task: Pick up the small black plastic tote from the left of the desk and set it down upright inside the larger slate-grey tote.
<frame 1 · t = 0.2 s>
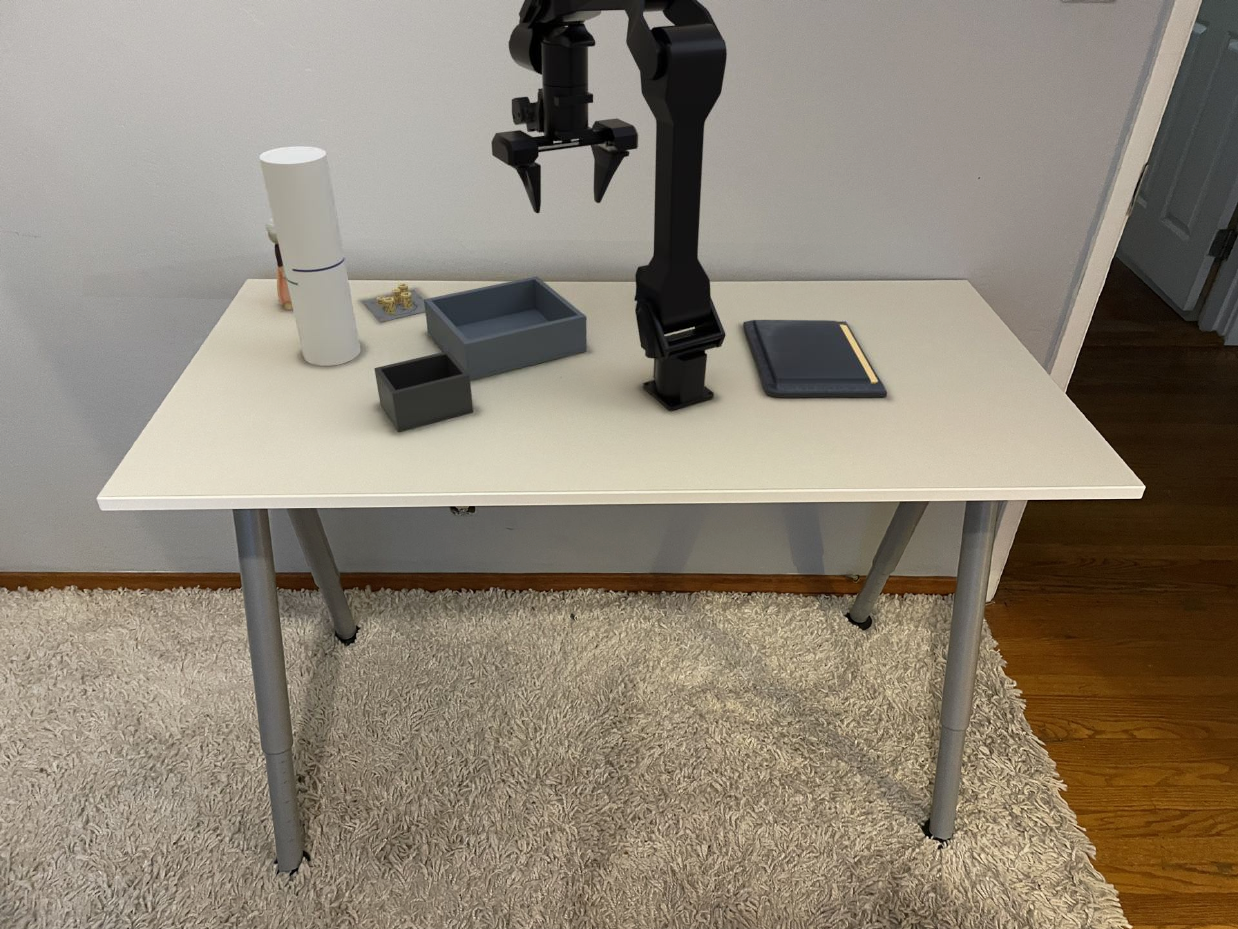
hand: (567, 207, 113), 15 cm above the table, tool pointing down, fingers open, 9 cm apart
black bin: (426, 408, 98), on the table
dice set: (397, 306, 121), on the table
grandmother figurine: (294, 306, 121), on the table
cylindrical container: (332, 353, 109), on the table
wallet: (809, 360, 110), on the table
grey bin: (506, 342, 112), on the table
hard drive: (674, 303, 124), on the table
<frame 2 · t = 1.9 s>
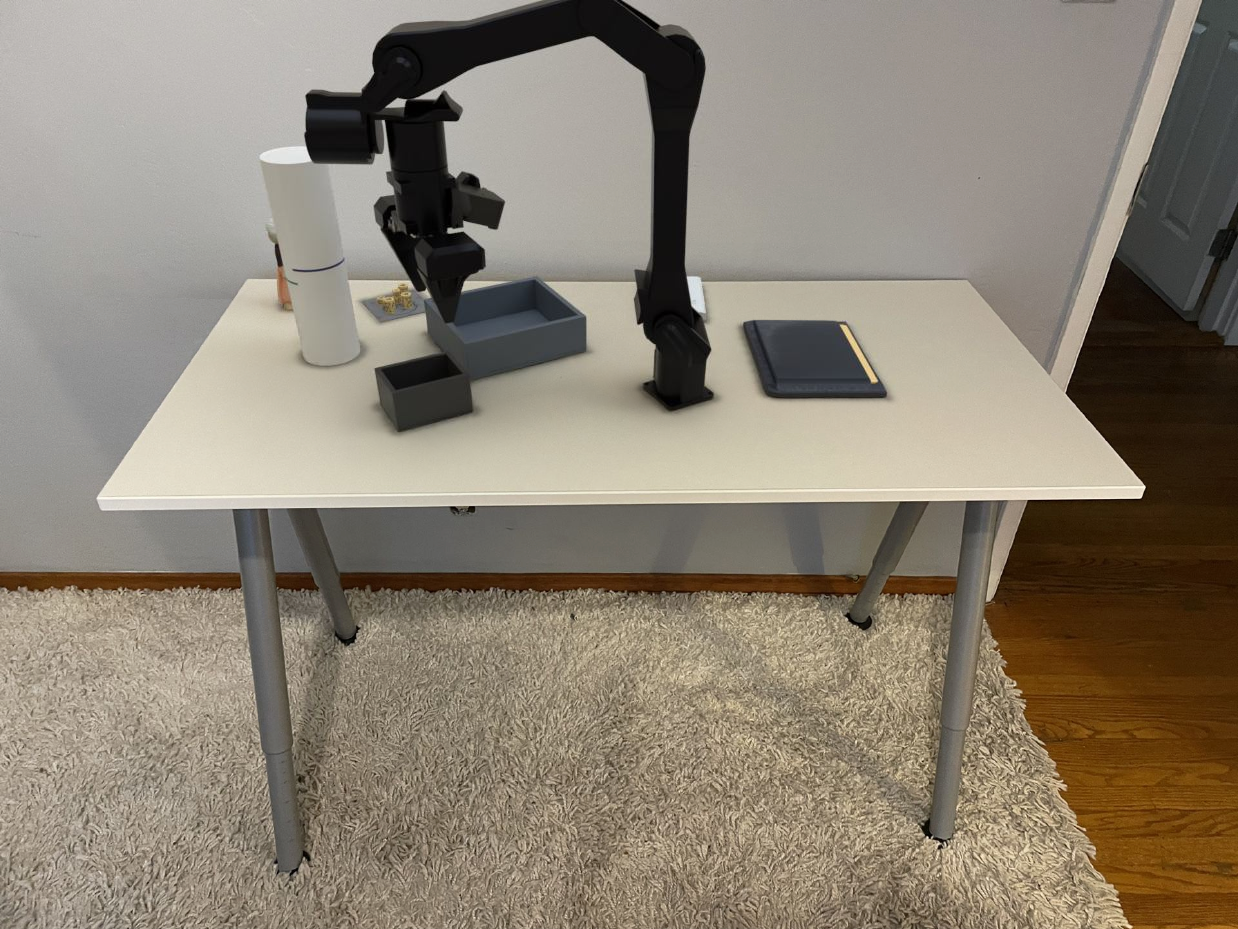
hand: (434, 306, 94), 11 cm above the table, tool pointing down, fingers open, 9 cm apart
nothing on the table moved.
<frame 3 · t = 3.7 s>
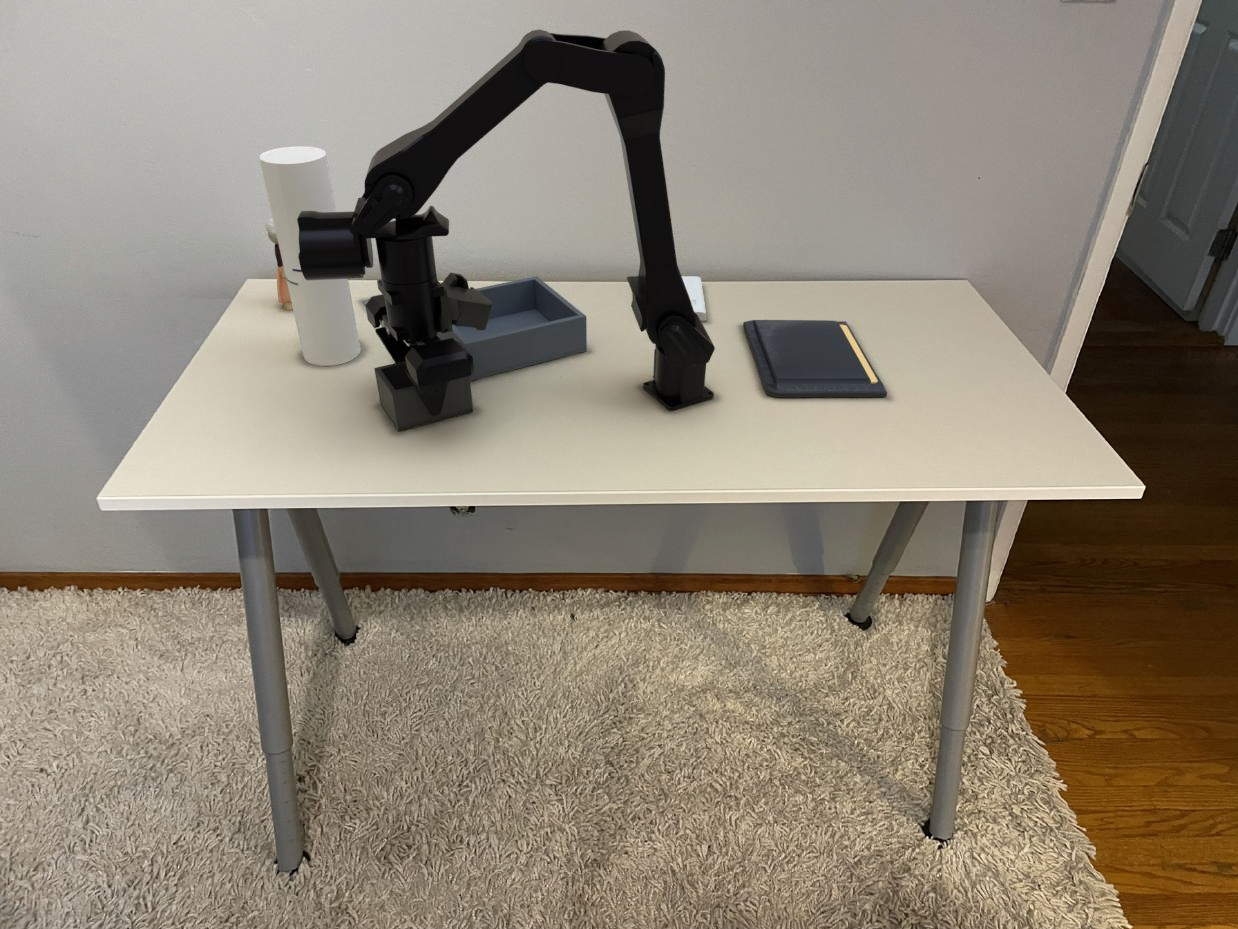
hand: (425, 401, 98), 1 cm above the table, tool pointing down, fingers closed on black bin, 6 cm apart
black bin: (426, 408, 98), on the table, touching gripper
everything else where it was.
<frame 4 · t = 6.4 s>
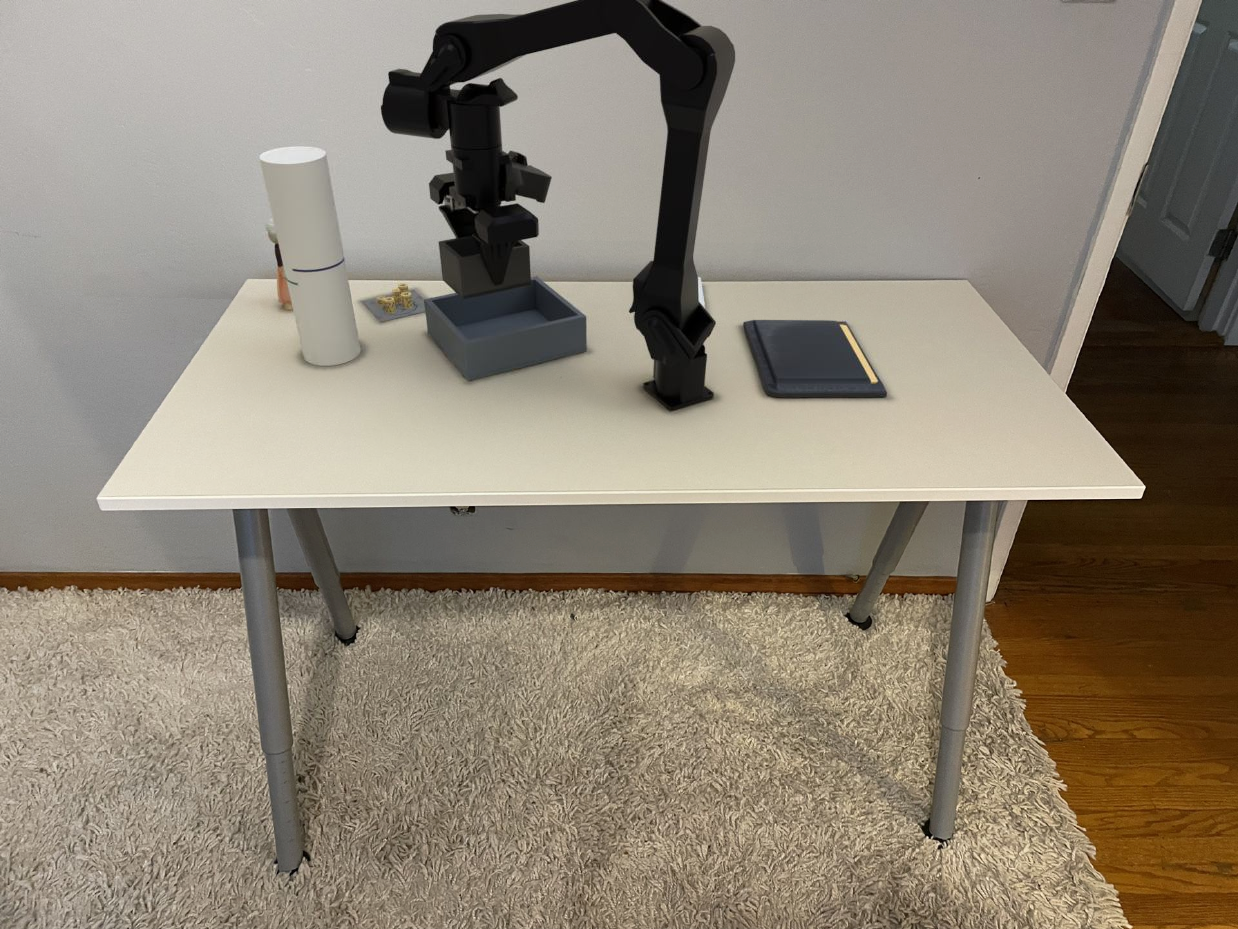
hand: (486, 274, 103), 11 cm above the table, tool pointing down, fingers closed on black bin, 6 cm apart
black bin: (486, 282, 104), point 10 cm above the table, touching gripper
everything else where it was.
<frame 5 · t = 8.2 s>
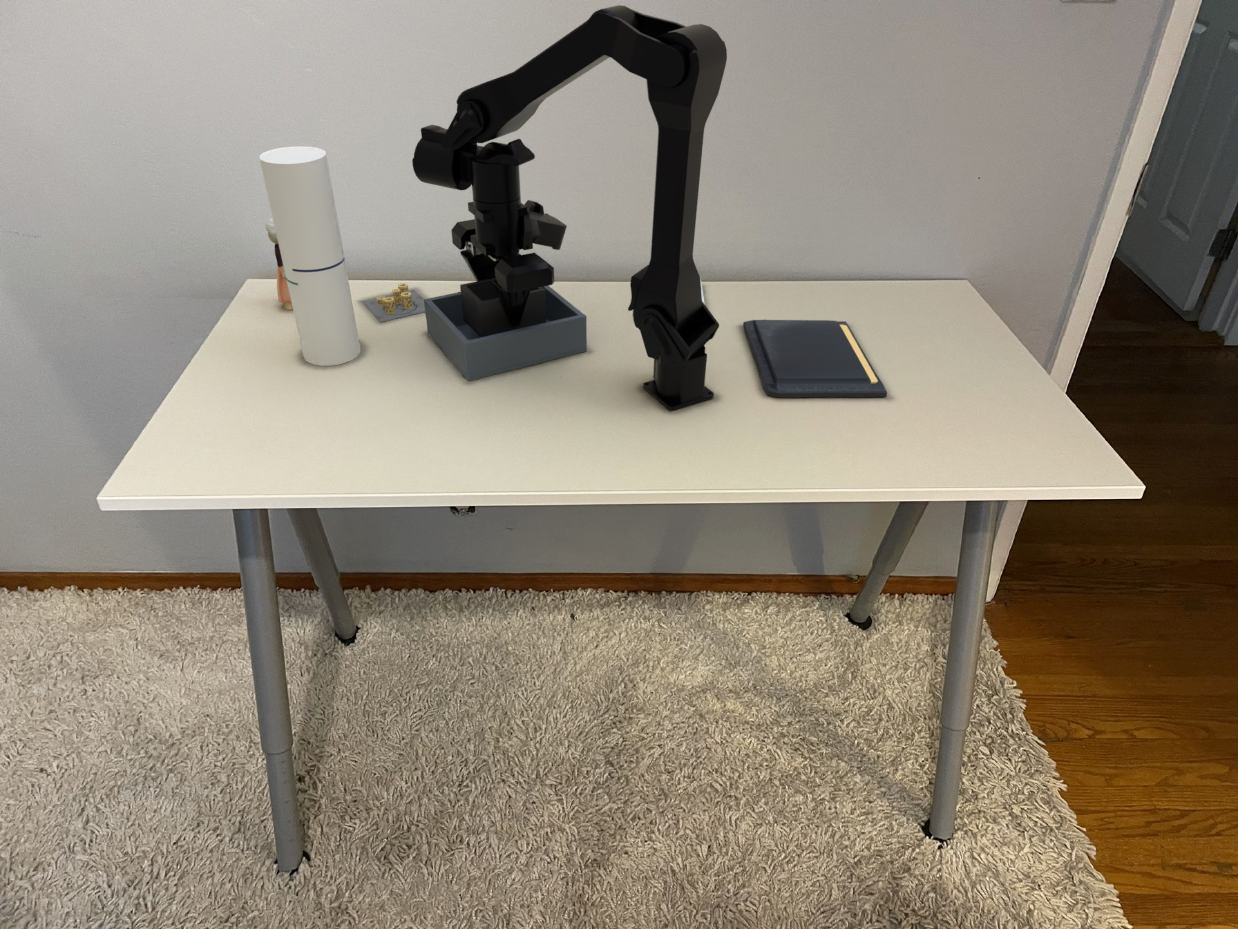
hand: (504, 315, 110), 4 cm above the table, tool pointing down, fingers closed on black bin, 6 cm apart
black bin: (504, 322, 111), point 3 cm above the table, touching gripper
everything else where it was.
when the fingers open (2 cm above the table, at t = 9.5 s): black bin stays where it is, resting on grey bin.
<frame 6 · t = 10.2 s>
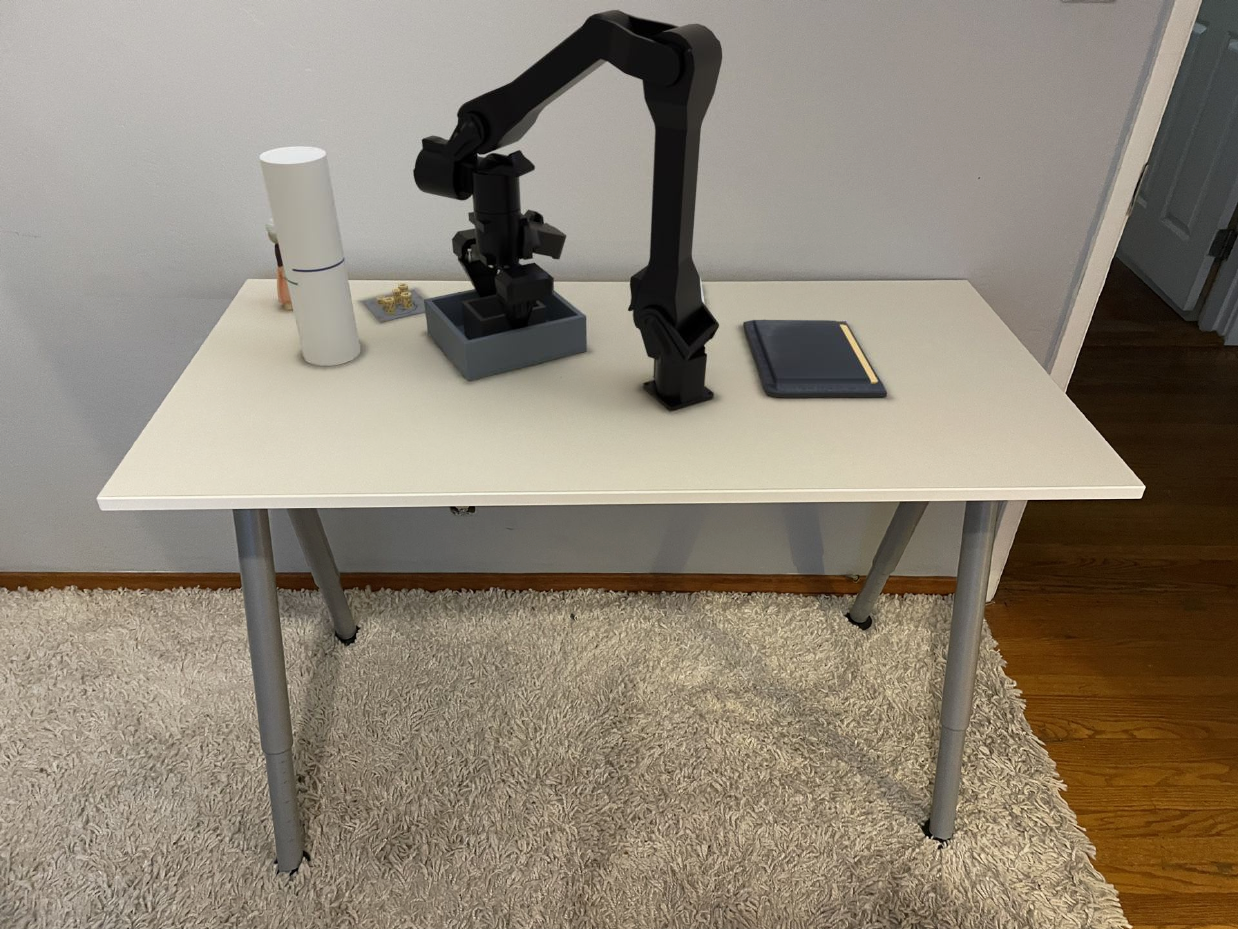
hand: (504, 324, 111), 3 cm above the table, tool pointing down, fingers open, 9 cm apart
black bin: (505, 338, 112), point 1 cm above the table, touching grey bin
everything else where it was.
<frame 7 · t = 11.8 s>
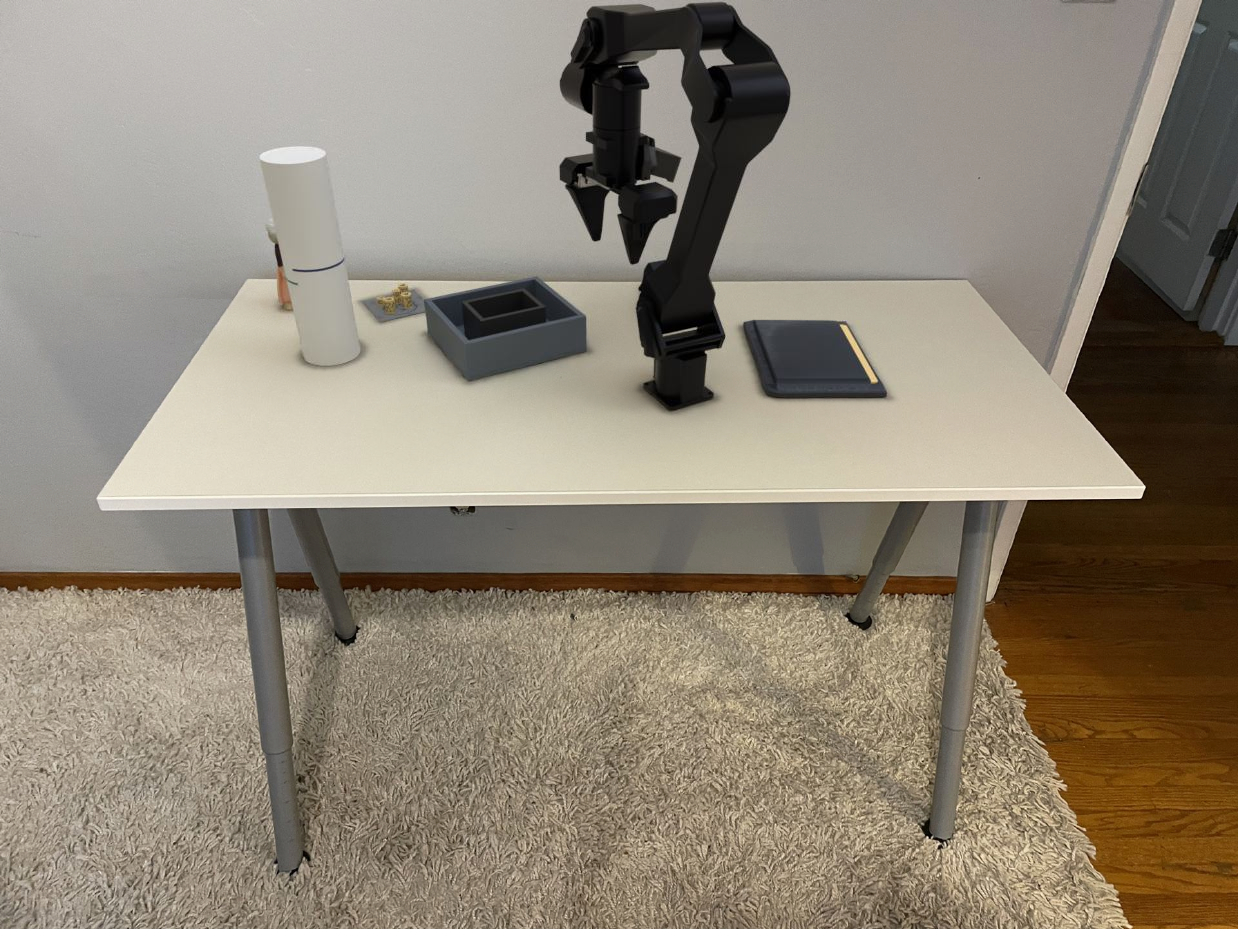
hand: (614, 251, 108), 12 cm above the table, tool pointing down, fingers open, 9 cm apart
nothing on the table moved.
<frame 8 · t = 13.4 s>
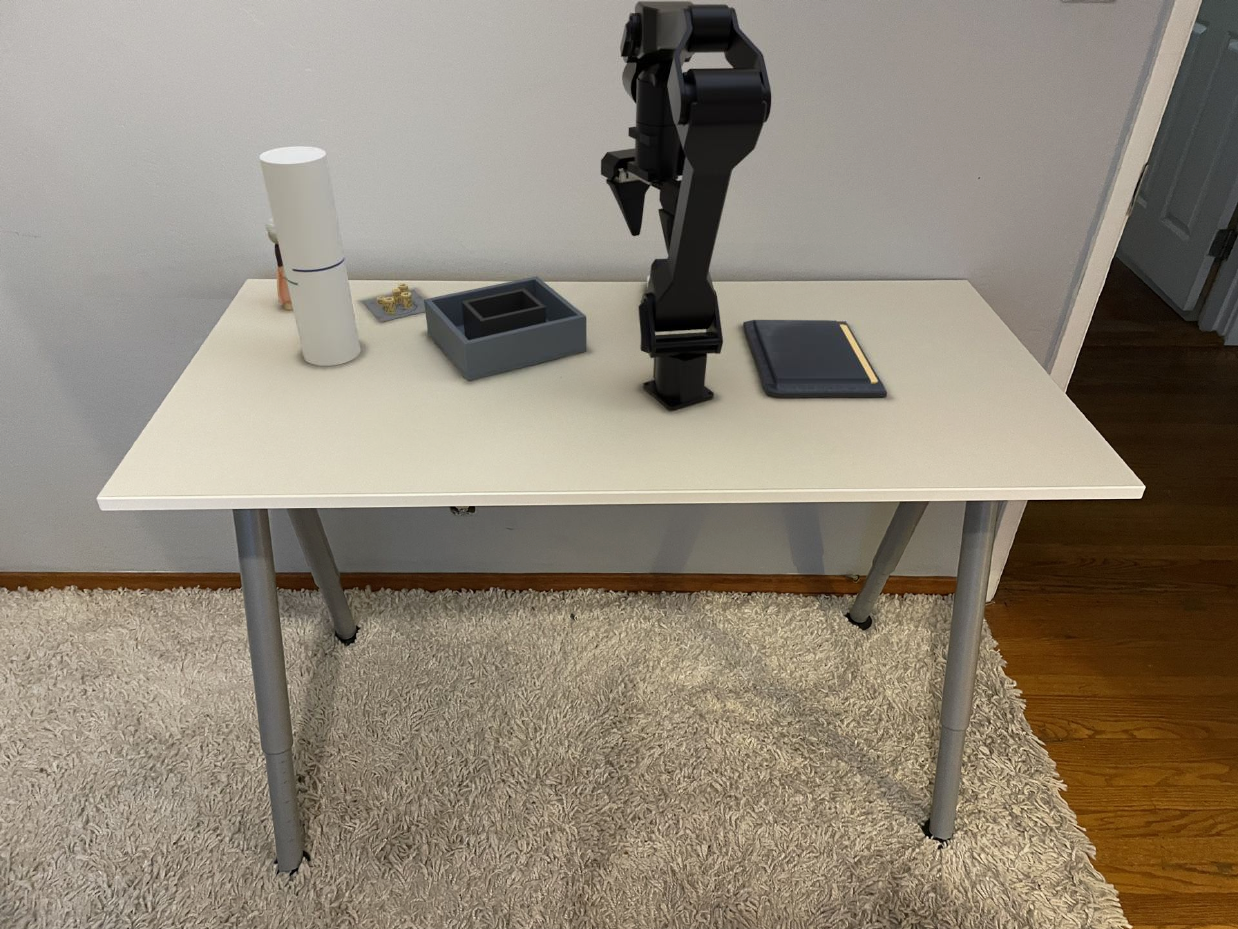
hand: (653, 246, 109), 12 cm above the table, tool pointing down, fingers open, 9 cm apart
nothing on the table moved.
at the end: black bin inside the target area in the grey bin (0.0 cm from its centre), point 0.6 cm above the grey bin's base; black bin tilted 0°; the gripper is holding nothing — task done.
